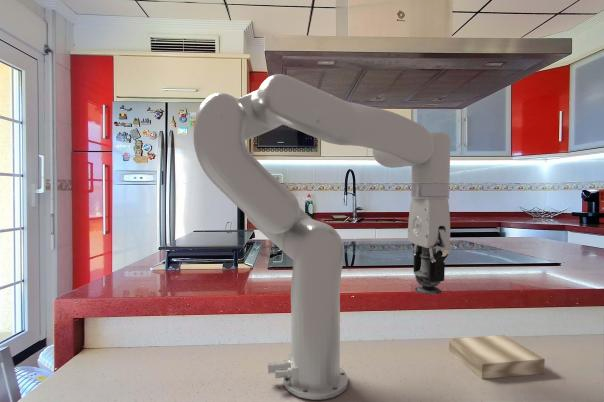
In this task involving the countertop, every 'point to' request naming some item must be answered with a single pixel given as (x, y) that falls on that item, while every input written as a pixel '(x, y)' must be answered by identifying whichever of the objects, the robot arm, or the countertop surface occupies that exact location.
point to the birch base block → (496, 356)
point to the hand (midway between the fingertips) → (428, 276)
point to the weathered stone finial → (426, 275)
